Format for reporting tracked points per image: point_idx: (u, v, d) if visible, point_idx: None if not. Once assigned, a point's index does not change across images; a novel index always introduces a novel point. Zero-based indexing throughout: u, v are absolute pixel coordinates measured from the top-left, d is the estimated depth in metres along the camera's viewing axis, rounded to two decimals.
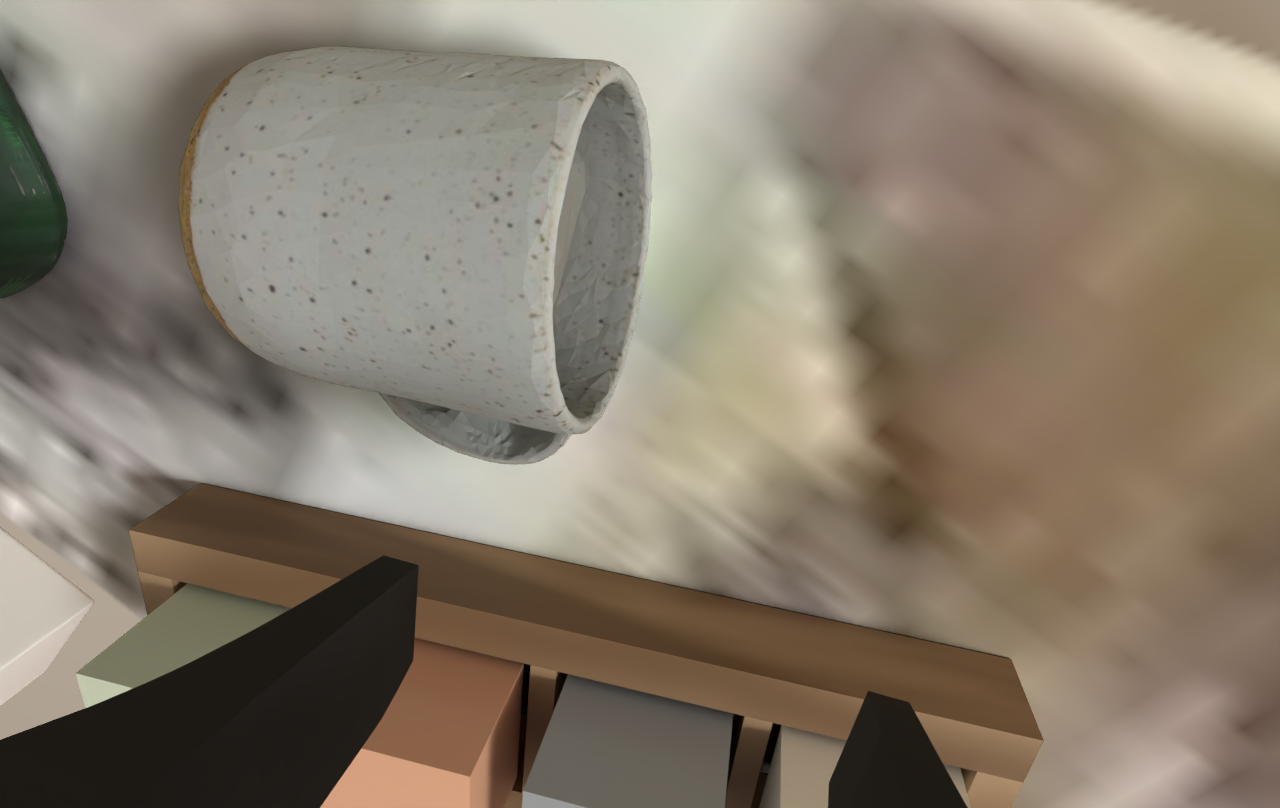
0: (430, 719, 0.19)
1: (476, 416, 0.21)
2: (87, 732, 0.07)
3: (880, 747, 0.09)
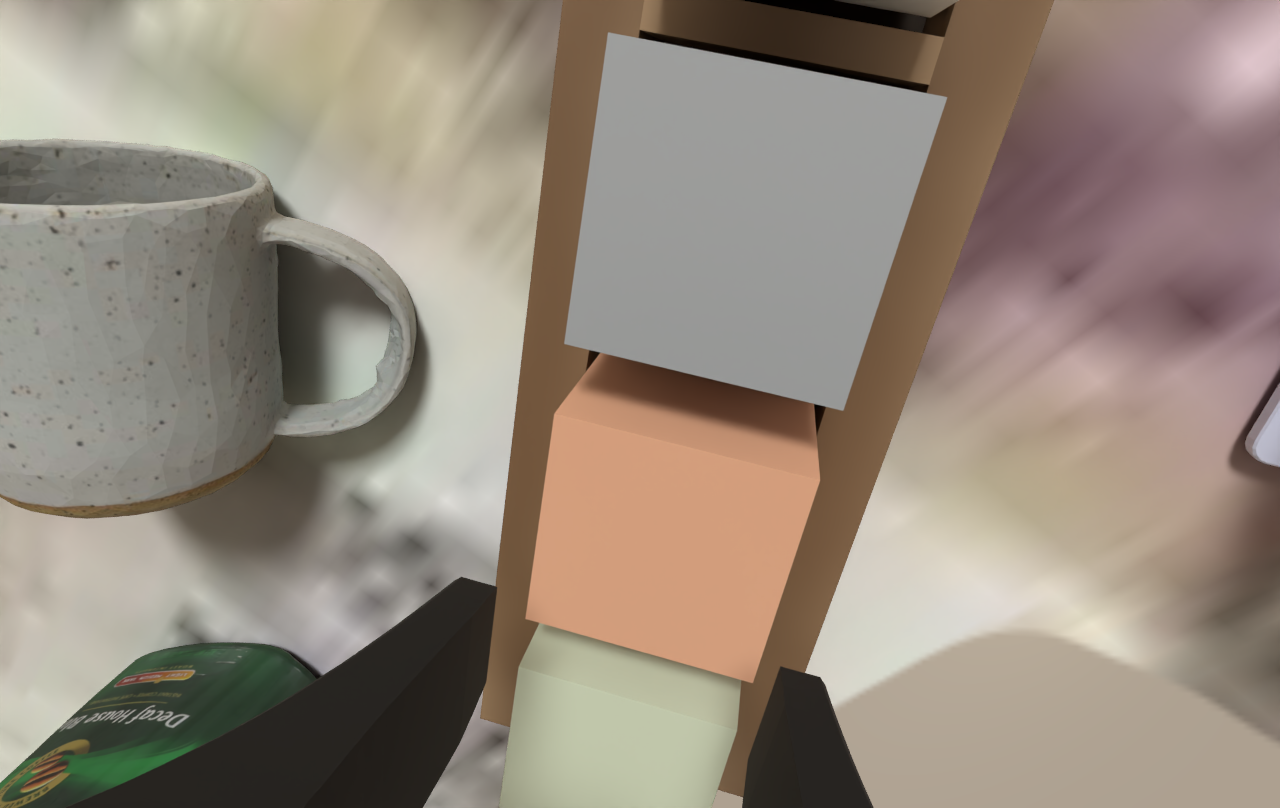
0: None
1: (386, 352, 0.20)
2: (209, 772, 0.07)
3: (782, 719, 0.09)
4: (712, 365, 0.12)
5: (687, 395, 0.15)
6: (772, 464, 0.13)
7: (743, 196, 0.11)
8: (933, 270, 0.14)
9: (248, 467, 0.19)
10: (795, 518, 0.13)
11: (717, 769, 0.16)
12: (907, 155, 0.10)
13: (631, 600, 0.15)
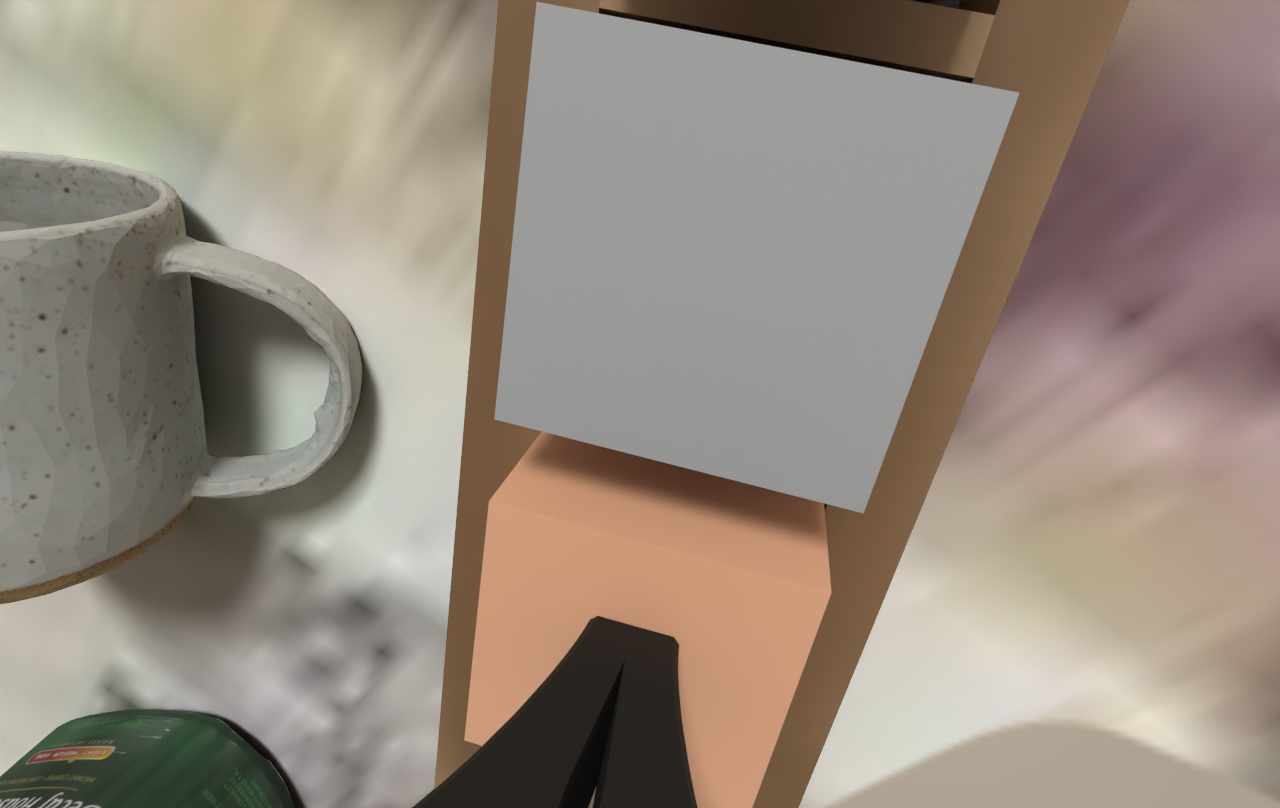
0: None
1: (326, 397, 0.17)
2: None
3: (622, 673, 0.10)
4: (689, 451, 0.09)
5: (664, 465, 0.12)
6: (769, 570, 0.10)
7: (728, 230, 0.08)
8: (974, 314, 0.11)
9: (158, 536, 0.16)
10: (799, 637, 0.10)
11: None
12: (959, 175, 0.07)
13: None
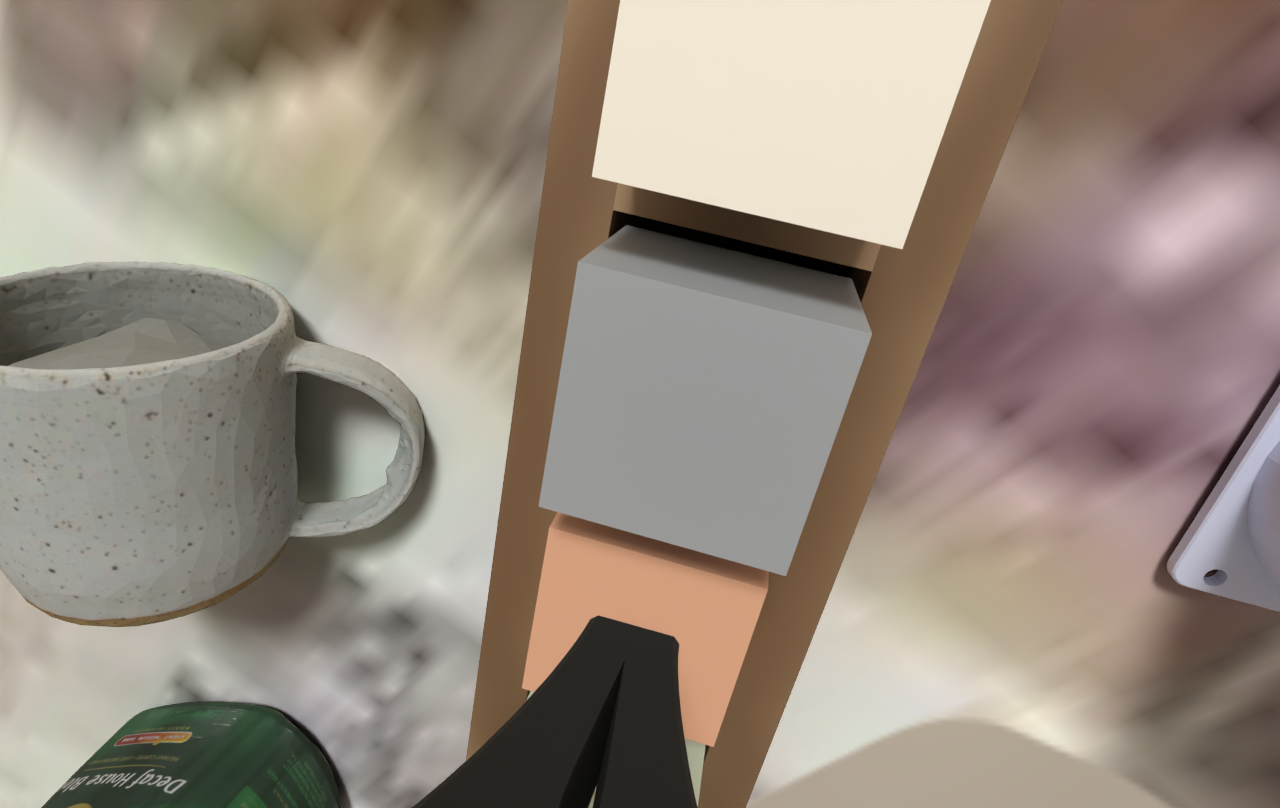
0: None
1: (396, 457, 0.22)
2: None
3: (622, 673, 0.10)
4: (670, 532, 0.14)
5: None
6: (730, 574, 0.16)
7: (697, 398, 0.12)
8: (877, 425, 0.16)
9: (266, 569, 0.21)
10: (748, 618, 0.16)
11: None
12: (838, 376, 0.12)
13: None
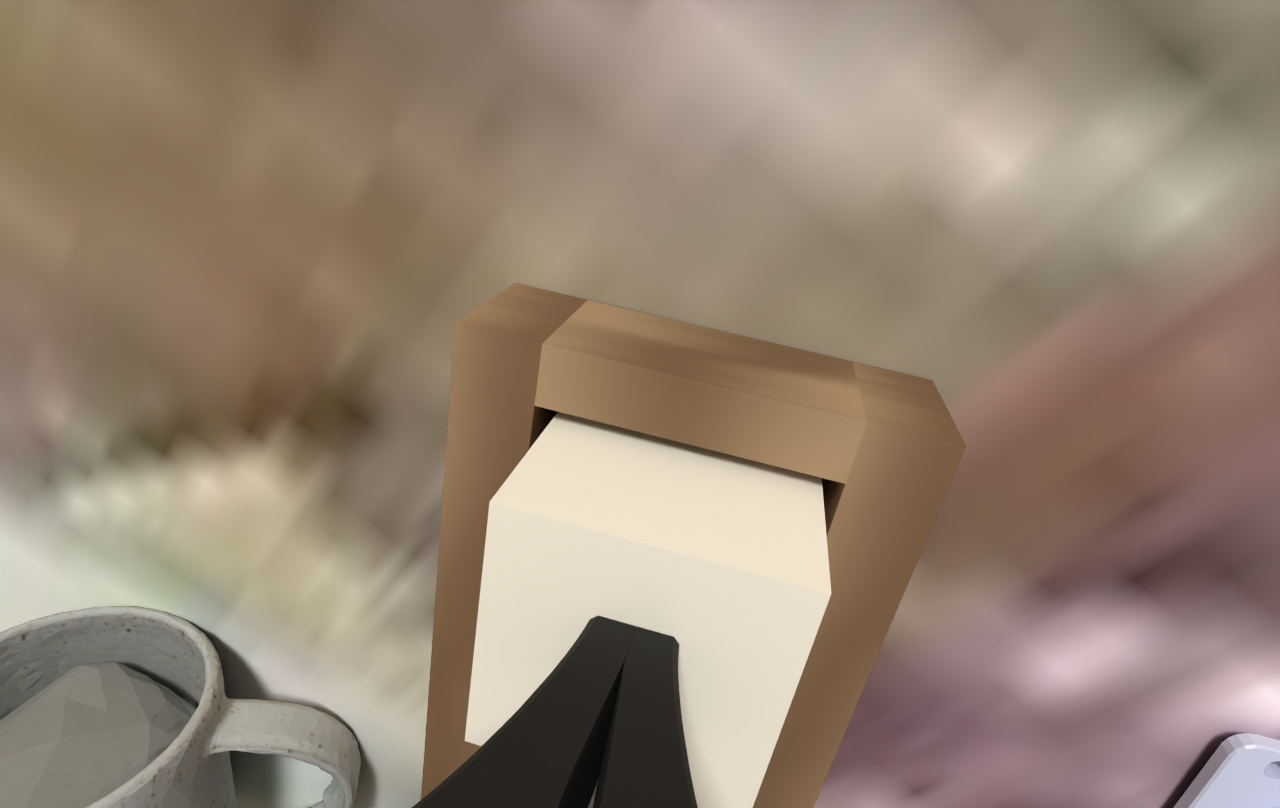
0: None
1: (332, 783, 0.22)
2: None
3: (623, 673, 0.10)
4: None
5: None
6: None
7: None
8: None
9: None
10: None
11: None
12: None
13: None
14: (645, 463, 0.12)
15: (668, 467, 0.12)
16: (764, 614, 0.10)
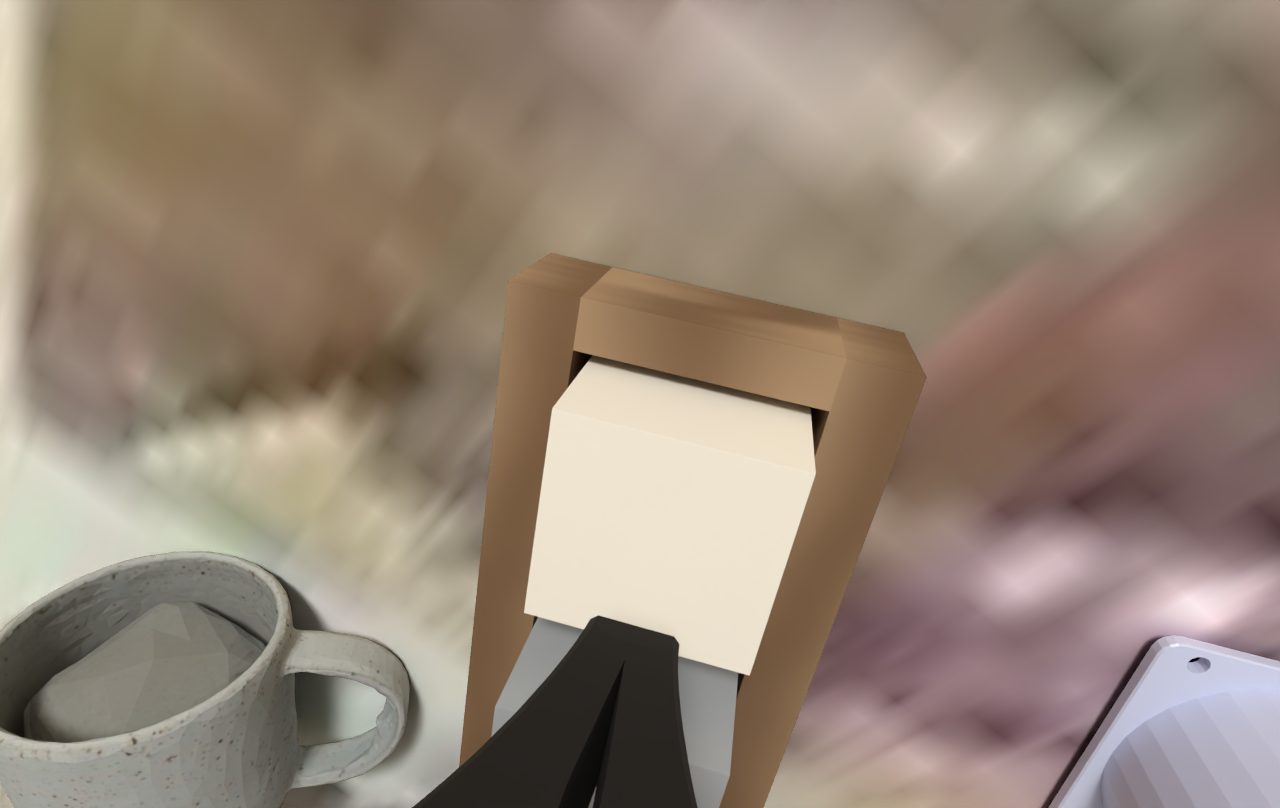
0: None
1: (384, 710, 0.25)
2: None
3: None
4: None
5: None
6: None
7: None
8: (770, 747, 0.19)
9: None
10: None
11: None
12: (707, 799, 0.15)
13: None
14: (668, 388, 0.15)
15: (687, 391, 0.15)
16: (765, 492, 0.13)
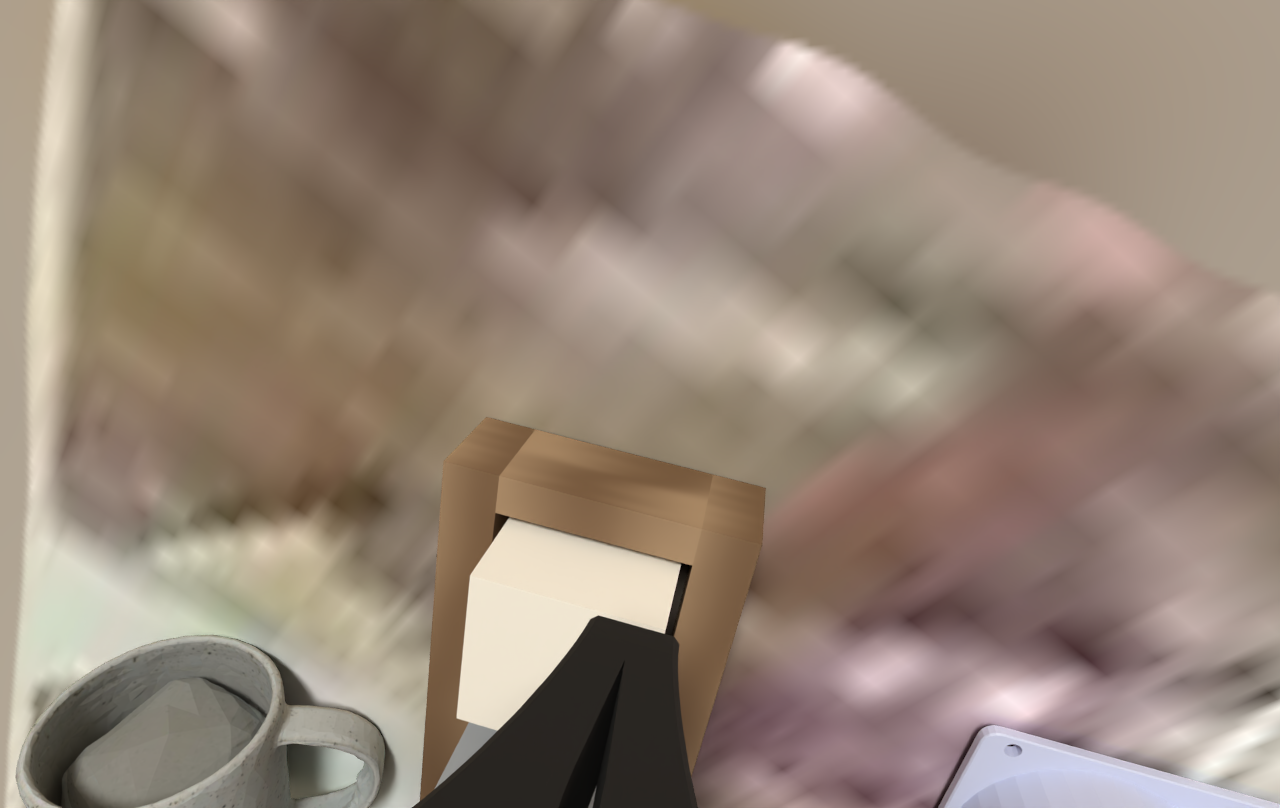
0: None
1: (363, 769, 0.29)
2: None
3: (622, 673, 0.10)
4: None
5: None
6: None
7: None
8: None
9: None
10: None
11: None
12: None
13: None
14: (569, 544, 0.19)
15: (583, 546, 0.19)
16: None
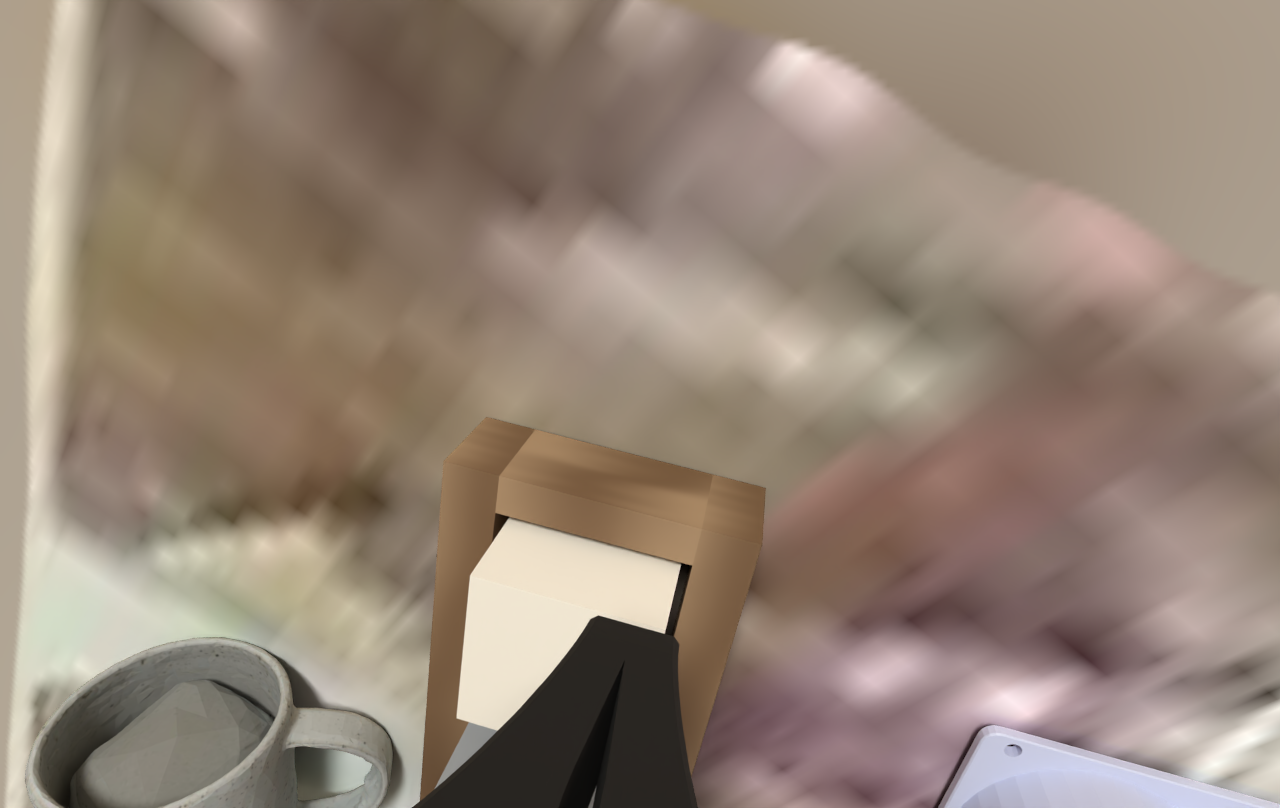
0: None
1: (371, 771, 0.29)
2: None
3: (622, 673, 0.10)
4: None
5: None
6: None
7: None
8: None
9: None
10: None
11: None
12: None
13: None
14: (569, 544, 0.19)
15: (583, 546, 0.19)
16: None
